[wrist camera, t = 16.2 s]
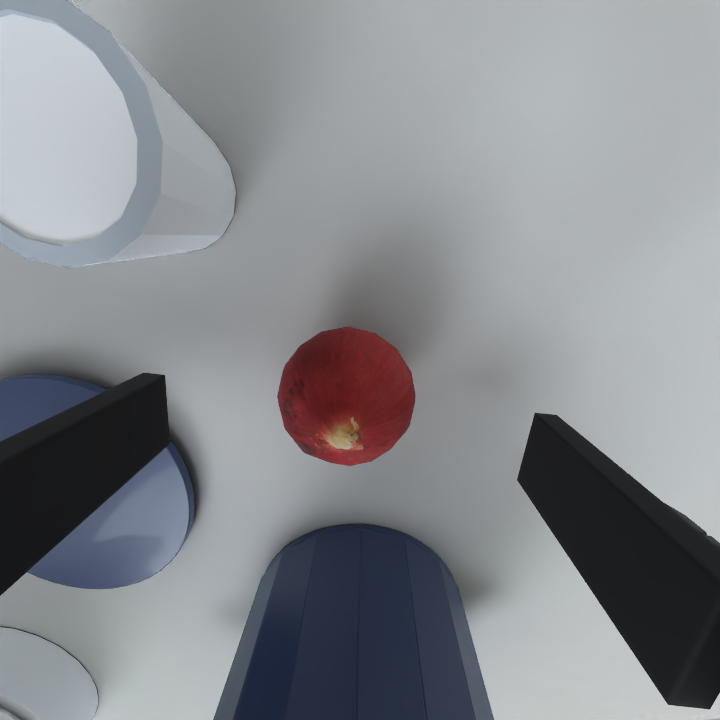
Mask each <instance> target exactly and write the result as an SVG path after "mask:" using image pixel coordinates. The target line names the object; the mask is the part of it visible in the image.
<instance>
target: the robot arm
mask: <svg viewBox="0 0 720 720" xmlns="http://www.w3.org/2000/svg"><path fill="white" fill-rule="evenodd" d="M169 444H170V439H169V426H168V412H167V398H166V384H165V375H160V374H150V373H142V374H140V375H138V376H136V377H134V378H132V379H129V380H127V381H125V382H123V383H121V384H119V385H117V386H115V387H113V388H111V389H109V390H107V391H104V392H102V393H100V394H98V395H96V396H94V397H92V398H90V399H88V400H86V401H84V402H81V403H79V404H77V405H75V406H73V407H71V408H69V409H67V410H65V411H63V412H61V413H59V414H56V415H54V416H52V417H50V418H48V419H46V420H44V421H42V422H40V423H38V424H36V425H34V426H31V427H29V428H27V429H25V430H23V431H21V432H19V433H17V434H15V435H13V436H11V437H8V438H6V439H4V440H2V441H0V595H2V594H3V593H4V592H5V591H6V590H7V589H8V588H9V587H11V586H12V585H13V584H14V583H15V582H16V581H17V580H18V579H19V578H21V577H22V576H23V575H24V574H25V573H26V572H27V571H28V570H30V569H31V568H32V567H33V566H34V565H35V564H36V563H37V562H38V561H40V560H41V559H42V558H43V557H44V556H45V555H46V554H47V553H49V552H50V551H51V550H52V549H53V548H54V547H55V546H56V545H57V544H59V543H60V542H61V541H62V540H63V539H64V538H65V537H66V536H68V535H69V534H70V533H71V532H72V531H73V530H74V529H75V528H76V527H78V526H79V525H80V524H81V523H82V522H83V521H84V520H85V519H87V518H88V517H89V516H90V515H91V514H92V513H93V512H94V511H95V510H97V509H98V508H99V507H100V506H101V505H102V504H103V503H104V502H106V501H107V500H108V499H109V498H110V497H111V496H112V495H113V494H114V493H116V492H117V491H118V490H119V489H120V488H121V487H122V486H123V485H125V484H126V483H127V482H128V481H129V480H130V479H131V478H132V477H133V476H135V475H136V474H137V473H138V472H139V471H140V470H141V469H142V468H144V467H145V466H146V465H147V464H148V463H149V462H150V461H151V460H152V459H154V458H155V457H156V456H157V455H158V454H159V453H160V452H161V451H163V450H164V449H165V448H166V447H167V446H168V445H169ZM517 480H518V482H519V483H520V485H521V486H522V488H523V489H524V491H525V492H526V494H527V495H528V497H529V498H530V500H531V501H532V503H533V504H534V506H535V507H536V509H537V510H538V512H539V513H540V515H541V516H542V518H543V519H544V521H545V522H546V524H547V525H548V527H549V528H550V530H551V531H552V533H553V534H554V536H555V537H556V539H557V540H558V541H559V543H560V544H561V546H562V547H563V549H564V550H565V552H566V553H567V555H568V556H569V558H570V559H571V561H572V562H573V564H574V565H575V567H576V568H577V570H578V571H579V573H580V574H581V576H582V577H583V579H584V580H585V582H586V583H587V585H588V586H589V588H590V589H591V591H592V592H593V594H594V595H595V597H596V598H597V600H598V601H599V603H600V604H601V605H602V607H603V608H604V610H605V611H606V613H607V614H608V616H609V617H610V619H611V620H612V622H613V623H614V625H615V626H616V628H617V629H618V631H619V632H620V634H621V635H622V637H623V638H624V640H625V641H626V643H627V644H628V646H629V647H630V649H631V650H632V652H633V653H634V655H635V656H636V658H637V659H638V661H639V662H640V664H641V665H642V667H643V668H644V669H645V671H646V672H647V674H648V675H649V677H650V678H651V680H652V681H653V683H654V684H655V686H656V687H657V689H658V690H659V692H660V693H661V695H662V696H663V698H664V699H665V701H666V702H667V704H668V705H675V706H684V707H694V708H703V709H710V708H711V706H712V705H713V703H714V701H715V700H716V698H717V696H718V695H719V693H720V543H719V542H718V541H716V540H715V539H714V538H713V537H711V536H707V534H706V532H705V531H704V530H703V529H702V528H700V527H699V526H698V525H697V524H695V523H694V522H693V521H692V520H690V519H689V518H688V517H687V516H685V515H684V514H682V513H680V512H679V511H677V510H675V509H674V508H672V507H670V506H668V505H667V504H665V503H663V502H662V501H661V500H660V499H658V498H657V497H656V496H655V495H653V494H652V493H651V492H650V491H649V490H647V489H646V488H645V487H644V486H643V485H641V484H640V483H639V482H638V481H636V480H635V479H634V478H633V477H632V476H630V475H629V474H628V473H627V472H625V471H624V470H623V469H622V468H621V467H619V466H618V465H617V464H616V463H614V462H613V461H612V460H611V459H610V458H608V457H607V456H606V455H605V454H603V453H602V452H601V451H600V450H599V449H597V448H596V447H595V446H594V445H593V444H591V443H590V442H589V441H588V440H586V439H585V438H584V437H583V436H582V435H580V434H579V433H578V432H577V431H575V430H574V429H573V428H572V427H571V426H569V425H568V424H567V423H566V422H564V421H563V420H562V419H561V418H560V417H558V416H557V415H551V414H541V413H535V414H534V418H533V422H532V426H531V429H530V433H529V437H528V441H527V445H526V448H525V452H524V456H523V460H522V463H521V467H520V471H519V475H518V478H517Z"/></svg>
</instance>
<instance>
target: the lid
mask: <svg viewBox="0 0 720 720" xmlns="http://www.w3.org/2000/svg"><path fill="white" fill-rule="evenodd" d="M104 391H107V389H104V388H102V387H99V386H97V385H94V384H92V383H89V382H86V381H82V380H79V379H75V378H71V377H65V376H58V375H46V374H31V375H21V376H16V377H11V378H7V379H3V380H0V441H2V440H4V439H6V438H8V437H11V436H13V435H15V434H17V433H19V432H21V431H23V430H25V429H27V428H29V427H31V426H34V425H36V424H38V423H40V422H42V421H44V420H46V419H48V418H50V417H52V416H54V415H56V414H59V413H61V412H63V411H65V410H67V409H69V408H71V407H73V406H75V405H77V404H79V403H81V402H84V401H86V400H88V399H90V398H92V397H94V396H96V395H98V394H100V393H102V392H104ZM193 516H194V494H193V486H192V483H191V479H190V476H189V473H188V470H187V468H186V466H185V463H184V461H183V459H182V457H181V456H180V454H179V452H178V451H177V449H176V447H175V446H174V444H173V443H172V442H171V440H170V444H169V445H168V446H167V447H166V448H165V449H164V450H163V451H161V452H160V453H159V454H158V455H157V456H156V457H155V458H154V459H152V460H151V461H150V462H149V463H148V464H147V465H146V466H145V467H144V468H142V469H141V470H140V471H139V472H138V473H137V474H136V475H135V476H133V477H132V478H131V479H130V480H129V481H128V482H127V483H126V484H125V485H123V486H122V487H121V488H120V489H119V490H118V491H117V492H116V493H114V494H113V495H112V496H111V497H110V498H109V499H108V500H107V501H106V502H104V503H103V504H102V505H101V506H100V507H99V508H98V509H97V510H95V511H94V512H93V513H92V514H91V515H90V516H89V517H88V518H87V519H85V520H84V521H83V522H82V523H81V524H80V525H79V526H78V527H76V528H75V529H74V530H73V531H72V532H71V533H70V534H69V535H68V536H66V537H65V538H64V539H63V540H62V541H61V542H60V543H59V544H57V545H56V546H55V547H54V548H53V549H52V550H51V551H50V552H49V553H47V554H46V555H45V556H44V557H43V558H42V559H41V560H40V561H38V562H37V563H36V564H35V565H34V566H33V567H32V568H31V569H30V570H28V571H27V572H28V573H30V574H32V575H35V576H37V577H39V578H42V579H45V580H48V581H51V582H54V583H58V584H62V585H66V586H71V587H78V588H86V589H109V588H117V587H123V586H128V585H131V584H134V583H138V582H140V581H142V580H145V579H147V578H149V577H151V576H153V575H154V574H156V573H157V572H159V571H161V570H162V569H163V568H164V567H165V566H166V565H168V564H169V563H170V562H171V561H172V559H173V558H174V557H175V556H176V555H177V553H178V552H179V550H180V549H181V547H182V546H183V544H184V542H185V541H186V539H187V537H188V534H189V532H190V529H191V526H192V522H193Z"/></svg>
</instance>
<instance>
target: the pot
mask: <svg viewBox="0 0 720 720" xmlns="http://www.w3.org/2000/svg"><path fill="white" fill-rule="evenodd" d="M213 720H494V718H493V714H492V711H491V707H490V703H489V700H488V696H487V692H486V689H485V685H484V681H483V678H482V674H481V670H480V666H479V663H478V659H477V655H476V652H475V648H474V644H473V641H472V637H471V633H470V630H469V626H468V622H467V619H466V615H465V611H464V608H463V604H462V600H461V597H460V593H459V589H458V587H457V585H456V584H455V582H454V579H453V577H452V575H451V573H450V571H449V570H448V568H447V566H446V565H445V564H444V563H443V561H442V560H441V559H440V558H439V557H438V556H437V555H436V554H435V553H434V552H433V551H432V550H431V549H430V548H428V547H427V546H425V545H424V544H423V543H421V542H420V541H418V540H416V539H414V538H412V537H410V536H408V535H406V534H403V533H401V532H398V531H396V530H392V529H388V528H385V527H380V526H373V525H362V524H349V525H338V526H332V527H327V528H323V529H320V530H316V531H313V532H311V533H309V534H306V535H304V536H302V537H300V538H298V539H297V540H295V541H293V542H292V543H290V544H289V545H288V546H286V547H285V548H284V549H283V550H282V551H281V552H280V553H279V554H278V555H277V556H276V557H275V558H274V559H273V561H272V562H271V564H270V565H269V566H268V568H267V570H266V572H265V574H264V576H263V577H262V578H261V581H260V584H259V587H258V590H257V593H256V596H255V599H254V602H253V604H252V607H251V610H250V613H249V616H248V619H247V622H246V625H245V628H244V631H243V634H242V637H241V640H240V643H239V646H238V649H237V652H236V654H235V657H234V660H233V663H232V666H231V669H230V672H229V675H228V678H227V681H226V684H225V687H224V690H223V693H222V696H221V699H220V702H219V705H218V707H217V710H216V713H215V716H214V719H213Z"/></svg>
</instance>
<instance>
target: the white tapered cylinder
mask: <svg viewBox="0 0 720 720" xmlns="http://www.w3.org/2000/svg"><path fill="white" fill-rule="evenodd" d="M235 198H236V188H235V185H234V181H233V177H232V173H231V169H230V165H229V164H228V162H227V161H226V159H225V158H224V156H223V155H222V153H221V152H220V150H219V149H218V147H217V146H216V144H215V143H214V142H213V141H212V140H211V138H210V137H209V136H208V135H207V134H206V133H205V132H204V131H203V130H202V129H201V128H200V127H199V126H198V125H197V124H196V123H195V122H194V121H193V119H192V118H191V117H190V116H189V115H188V114H187V113H186V112H185V111H184V110H183V109H182V108H181V107H180V106H179V105H178V104H177V103H176V101H175V100H174V99H173V98H172V97H171V96H170V95H169V94H168V93H167V92H166V91H165V90H164V89H163V88H162V87H161V86H160V85H159V83H158V82H157V81H156V80H155V79H154V78H153V77H152V76H151V75H150V74H149V73H148V72H147V71H146V70H145V69H144V68H143V67H142V66H141V64H140V63H139V62H138V61H137V60H136V59H135V58H134V57H133V56H132V55H131V54H130V53H129V52H128V51H127V50H126V49H125V48H124V46H123V45H122V44H121V43H120V42H119V41H118V40H117V39H116V38H115V37H114V36H113V35H112V34H111V33H110V32H109V31H108V30H106V29H105V28H104V27H102V26H101V25H100V24H98V23H97V22H96V21H94V20H93V19H92V18H90V17H89V16H88V15H86V14H85V13H84V12H82V11H81V10H80V9H78V8H77V7H76V6H74V5H73V4H72V3H70V2H69V1H68V0H0V243H1V244H3V245H4V246H6V247H7V248H9V249H11V250H12V251H14V252H15V253H17V254H19V255H20V256H22V257H23V258H26V259H30V260H35V261H39V262H44V263H48V264H53V265H57V266H62V267H66V268H74V267H81V266H88V265H96V264H103V263H111V262H118V261H125V260H133V259H140V258H148V257H155V256H162V255H170V254H177V253H185V252H190V251H195V250H200V249H205V248H207V247H208V246H210V245H211V244H212V243H214V242H215V241H216V240H218V239H219V238H220V237H222V236H223V235H224V233H225V231H226V229H227V227H228V225H229V223H230V222H231V220H232V218H233V216H234V208H235Z"/></svg>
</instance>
